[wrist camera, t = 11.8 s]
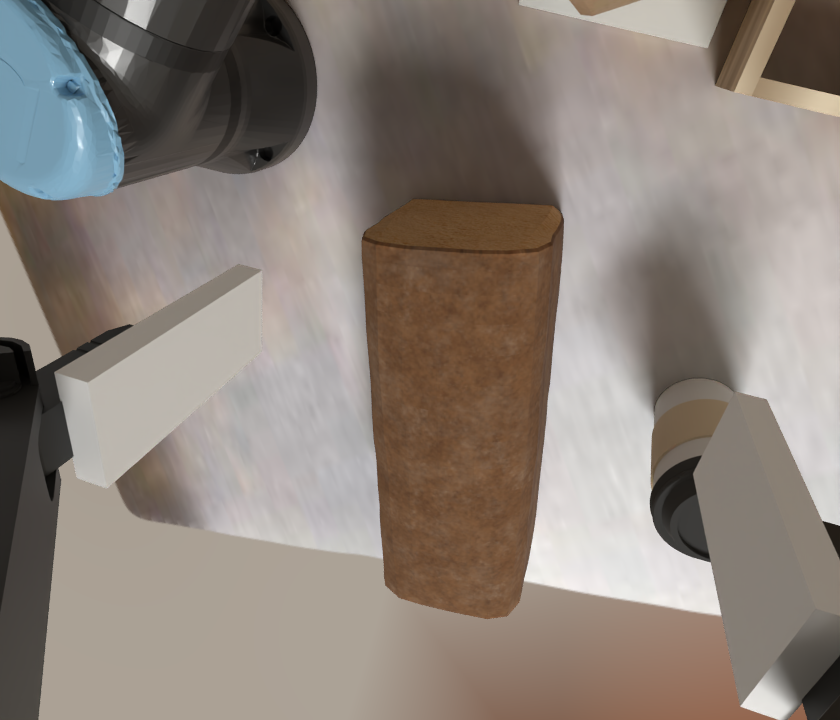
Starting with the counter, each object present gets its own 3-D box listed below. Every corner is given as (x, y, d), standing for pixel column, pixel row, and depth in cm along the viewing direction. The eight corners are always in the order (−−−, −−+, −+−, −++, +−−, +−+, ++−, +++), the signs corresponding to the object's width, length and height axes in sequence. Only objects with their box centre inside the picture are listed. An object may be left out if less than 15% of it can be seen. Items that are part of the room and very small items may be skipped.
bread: (412, 500, 65) (368, 601, 53) (402, 195, 49) (336, 242, 37) (537, 522, 62) (519, 637, 50) (569, 202, 46) (555, 257, 34)
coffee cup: (624, 388, 52) (630, 498, 39) (731, 350, 47) (776, 460, 35) (665, 465, 54) (682, 592, 41) (770, 436, 50) (825, 567, 37)
